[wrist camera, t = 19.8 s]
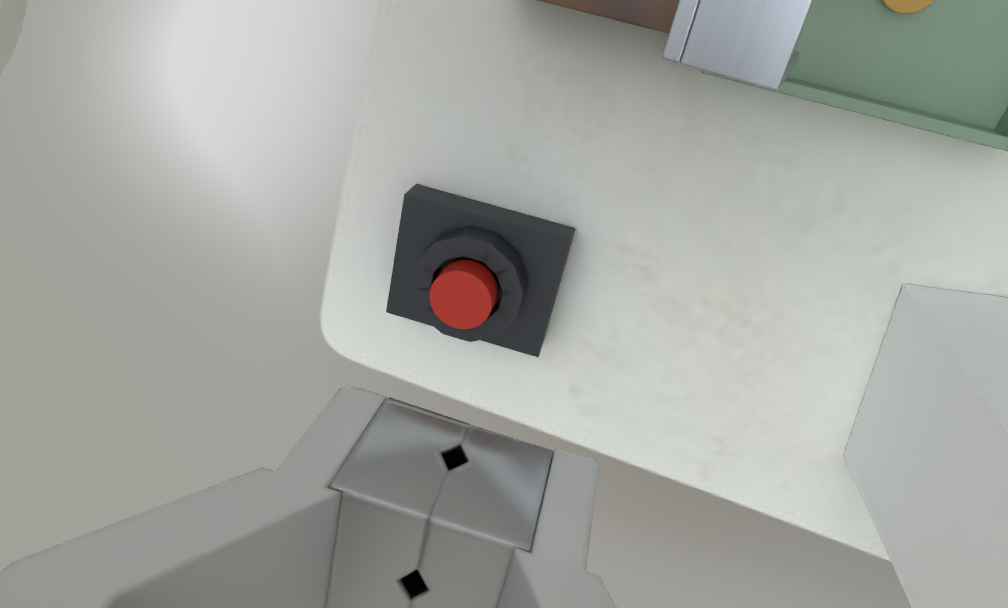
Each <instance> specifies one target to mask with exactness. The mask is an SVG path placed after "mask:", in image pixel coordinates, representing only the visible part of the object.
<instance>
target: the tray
mask: <svg viewBox="0 0 1008 608" xmlns="http://www.w3.org/2000/svg"><path fill="white" fill-rule="evenodd" d="M794 51H797V52H799V53H800V55H799V57H798V60H797V63H796V65H795V67H794V68H793V70H792V71H791V72H790V74H789V75H788V77H787V78H786V79H785V81H784V82H783V83H782V85H781V86H780V88H779V89H778V90H772V89H769V88H765V87H762V86H758V85H755V84H751V83H748V82H744V81H741V80H737V79H734V78H730V77H726V76H723V75H719V74H716V73H712V72H709V71H705V70H702V69H701V70H702V73H705V74H709V75H714V76H717V77H721V78H725V79H728V80H732V81H736V82H740V83H744V84H748V85H752V86H756V87H760V88H764V89H767V90H771V91H775V92H779V93H783V94H787V95H791V96H795V97H799V98H802V99H806V100H810V101H814V102H818V103H822V104H826V105H830V106H834V107H838V108H841V109H845V110H849V111H853V112H857V113H861V114H865V115H869V116H873V117H877V118H880V119H884V120H888V121H892V122H896V123H900V124H904V125H908V126H912V127H916V128H919V129H923V130H927V131H931V132H935V133H939V134H943V135H947V136H951V137H954V138H958V139H962V140H966V141H970V142H974V143H978V144H982V145H986V146H990V147H993V148H997V149H1001V150H1006V151H1008V0H934V1H933V2H932V3H931V4H930V5H928V6H927V7H926V8H924V9H922V10H920V11H918V12H915V13H910V14H901V13H896V12H893V11H890V10H889V9H887V8H886V7H885V6H884V5H883V4H882V2H881V0H814V1H813V4H812V6H811V9H810V11H809V14H808V17H807V19H806V22H805V24H804V27H803V29H802V32H801V34H800V37H799V40H798V42H797V45H796V47H795V50H794Z"/></svg>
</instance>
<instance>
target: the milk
mask: <svg viewBox="0 0 1008 608" xmlns="http://www.w3.org/2000/svg"><path fill="white" fill-rule="evenodd" d="M844 458H845V460H846V462H847V464H848V467H849V469H850V471H851V473H852V475H853V478H854V480H855V482H856V484H857V487H858V489H859V491H860V493H861V496H862V498H863V500H864V502H865V504H866V507H867V509H868V511H869V513H870V516H871V518H872V520H873V522H874V524H875V527H876V529H877V531H878V533H879V536H880V538H881V540H882V542H883V544H884V547H885V549H886V551H887V553H888V556H889V558H890V560H891V562H892V565H893V567H894V569H895V571H896V573H897V576H898V578H899V580H900V582H901V584H902V587H903V589H904V591H905V593H906V596H907V597H908V600H909V602H910V605H911V607H912V608H1008V298H1007V297H1000V296H992V295H984V294H977V293H969V292H961V291H954V290H946V289H939V288H931V287H923V286H916V285H908V284H903V286H902V289H901V291H900V294H899V297H898V300H897V303H896V306H895V309H894V311H893V314H892V317H891V320H890V323H889V326H888V329H887V332H886V334H885V337H884V340H883V343H882V346H881V349H880V352H879V354H878V357H877V360H876V363H875V366H874V369H873V372H872V375H871V377H870V380H869V383H868V386H867V389H866V392H865V395H864V397H863V400H862V403H861V406H860V409H859V412H858V415H857V417H856V420H855V423H854V426H853V429H852V432H851V435H850V438H849V440H848V443H847V446H846V449H845V452H844Z"/></svg>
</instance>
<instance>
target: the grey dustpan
mask: <svg viewBox="0 0 1008 608" xmlns="http://www.w3.org/2000/svg"><path fill="white" fill-rule="evenodd" d="M813 1H814V0H679V2H678V5H677V8H676V12H675V15H674V18H673V21H672V25H671V28H670V31H669V34H668V38H667V41H666V44H665V47H664V51H663V54H662V58H663V59H666V60H670V61H674V62H677V63H679V62H681V64H684V65H688V66H691V67H695V68H698V69H702V70H705V71H709V72H712V73H716V74H719V75H723V76H726V77H730V78H734V79H737V80H741V81H744V82H748V83H751V84H755V85H758V86H762V87H765V88H769V89H772V90H778V89H779V88H780V86H781V85H782V83H783V82H784V81H785V79H786V78H787V77H788V75H789V74H790V72H791V71H792V70H793V68H794V67H795V65H796V63H797V60H798V57H799V55H800V53H799V52H797V51H794V50H795V47H796V45H797V42H798V40H799V37H800V34H801V32H802V29H803V27H804V24H805V22H806V19H807V17H808V14H809V11H810V9H811V6H812V4H813Z"/></svg>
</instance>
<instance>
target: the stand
mask: <svg viewBox="0 0 1008 608" xmlns="http://www.w3.org/2000/svg"><path fill="white" fill-rule="evenodd" d="M538 1H542V2H546V3H550V4H554V5H558V6H562V7H566V8H569V9H573V10H577V11H581V12H585V13H589V14H593V15H597V16H601V17H605V18H609V19H613V20H617V21H621V22H625V23H629V24H633V25H637V26H641V27H645V28H649V29H653V30H656V31H660V32H664V33H668V34H669V31H670V28H671V25H672V21H673V18H674V15H675V12H676V8H677V5H678V2H679V0H538Z"/></svg>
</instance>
